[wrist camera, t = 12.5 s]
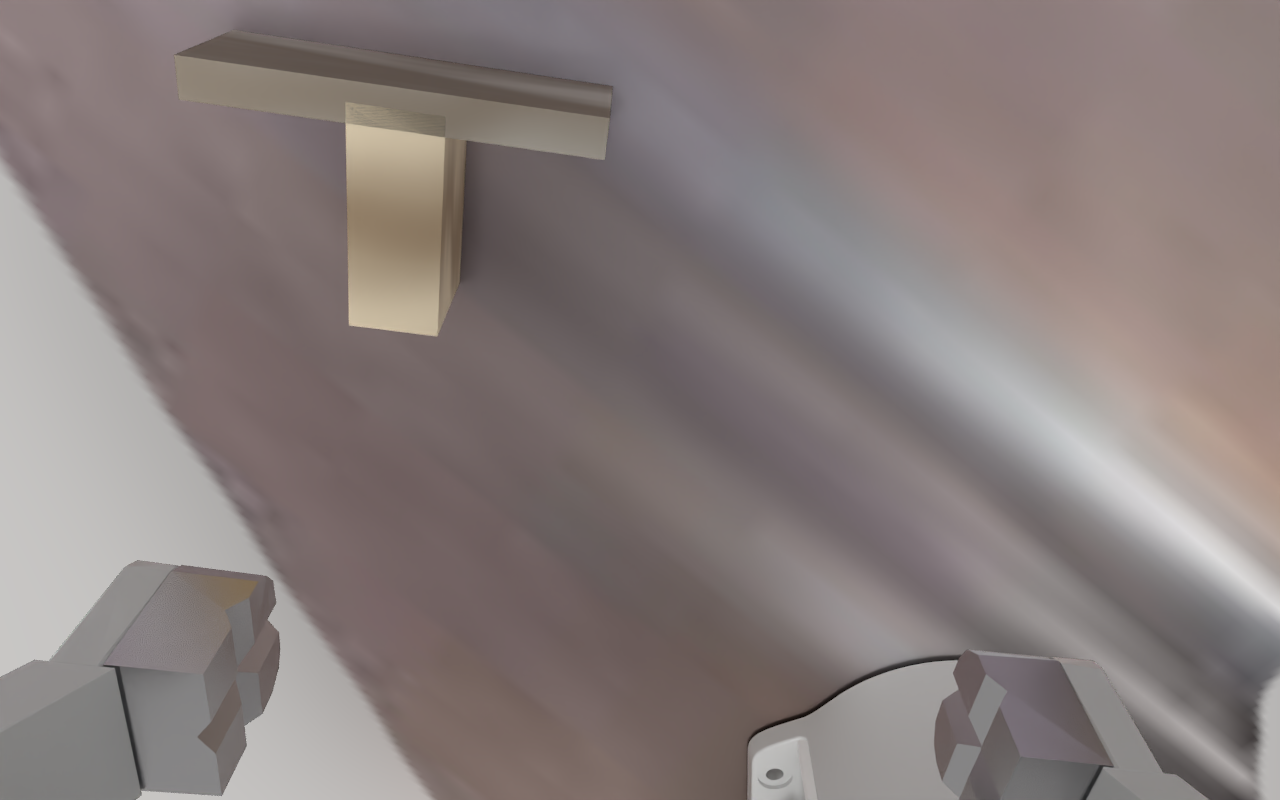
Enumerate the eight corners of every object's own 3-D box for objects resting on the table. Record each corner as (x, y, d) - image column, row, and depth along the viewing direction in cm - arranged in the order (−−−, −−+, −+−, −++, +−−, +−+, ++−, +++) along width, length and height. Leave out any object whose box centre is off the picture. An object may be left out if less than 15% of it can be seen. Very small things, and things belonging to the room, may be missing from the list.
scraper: (586, 298, 34) (580, 354, 30) (250, 255, 33) (200, 306, 29) (612, 86, 30) (609, 118, 26) (234, 29, 29) (173, 55, 25)
